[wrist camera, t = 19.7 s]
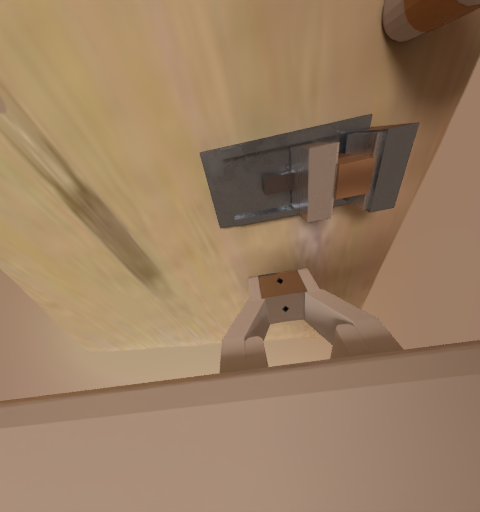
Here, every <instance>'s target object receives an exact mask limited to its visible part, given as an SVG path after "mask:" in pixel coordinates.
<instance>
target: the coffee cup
mask: <svg viewBox="0 0 480 512" xmlns="http://www.w3.org/2000/svg"><path fill="white" fill-rule="evenodd" d="M479 8H480V0H385V3H384V7H383V17H382V19H383V27H384V30H385V32H386V34H387V35H388V36H389V37H390V38H391V39H393V40H395V41H398V42H402V41H408V40H410V39H412V38H415V37H417V36H419V35H421V34H423V33H425V32H428V31H431V30H434V29H436V28H438V27H440V26H442V25H444V24H447V23H449V22H451V21H453V20H455V19H457V18H459V17H462V16H464V15H466V14H468V13H470V12H472V11H474V10H476V9H479Z"/></svg>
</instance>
